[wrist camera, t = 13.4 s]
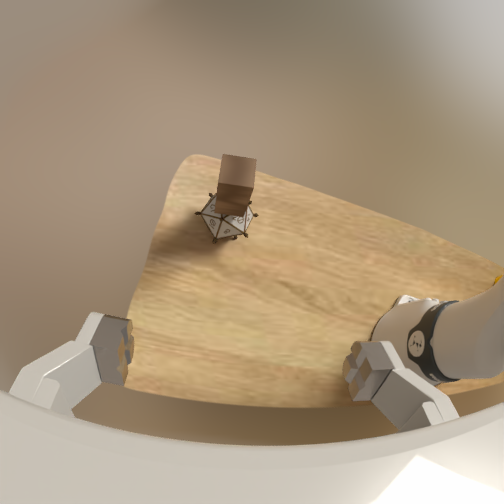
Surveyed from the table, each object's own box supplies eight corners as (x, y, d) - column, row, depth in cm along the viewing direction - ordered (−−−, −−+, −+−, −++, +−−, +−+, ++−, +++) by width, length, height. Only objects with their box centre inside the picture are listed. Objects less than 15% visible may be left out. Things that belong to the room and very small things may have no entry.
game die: (233, 228, 53) (278, 206, 47) (215, 263, 47) (263, 243, 41) (198, 190, 49) (241, 162, 43) (174, 223, 44) (219, 195, 37)
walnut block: (246, 191, 42) (256, 159, 35) (243, 217, 41) (253, 187, 34) (218, 187, 42) (222, 154, 34) (214, 213, 40) (218, 182, 33)
